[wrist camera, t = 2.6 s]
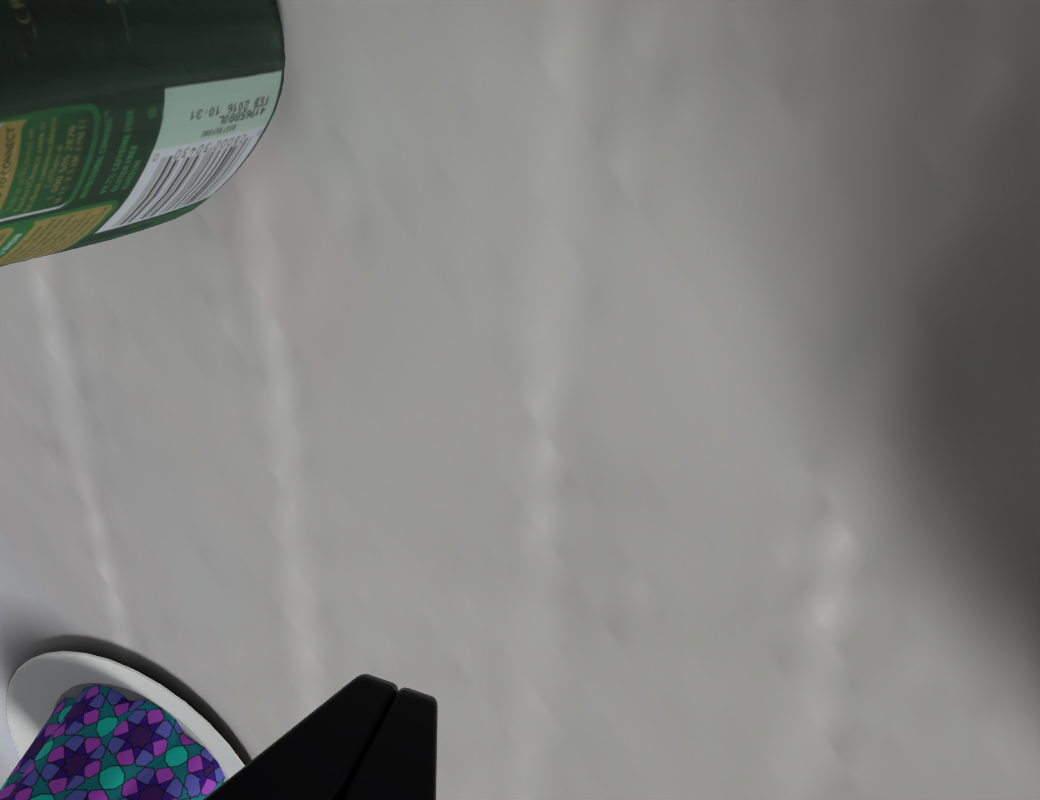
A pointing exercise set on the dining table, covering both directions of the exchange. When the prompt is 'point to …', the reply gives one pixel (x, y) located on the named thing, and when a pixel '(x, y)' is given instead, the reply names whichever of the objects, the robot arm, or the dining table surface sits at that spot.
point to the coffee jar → (126, 112)
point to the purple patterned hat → (106, 736)
